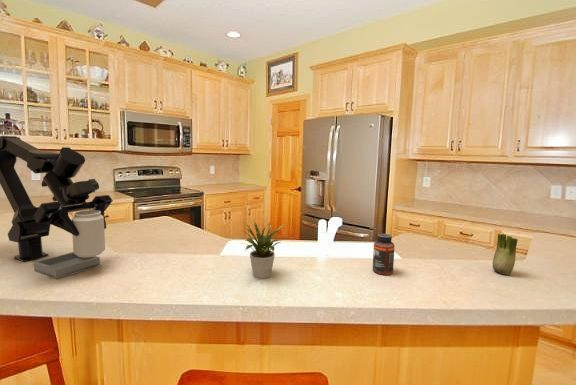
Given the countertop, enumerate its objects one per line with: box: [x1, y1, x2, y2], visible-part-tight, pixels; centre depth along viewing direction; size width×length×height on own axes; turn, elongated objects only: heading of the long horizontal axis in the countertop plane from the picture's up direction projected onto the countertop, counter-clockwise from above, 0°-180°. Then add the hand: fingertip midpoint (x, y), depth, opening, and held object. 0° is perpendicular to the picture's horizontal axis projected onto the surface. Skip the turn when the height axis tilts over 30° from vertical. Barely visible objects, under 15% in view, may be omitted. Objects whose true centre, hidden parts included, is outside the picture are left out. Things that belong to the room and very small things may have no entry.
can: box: [71, 209, 106, 257], centre depth 85 cm, size 8×8×12 cm
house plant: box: [238, 219, 285, 279], centre depth 86 cm, size 14×14×16 cm
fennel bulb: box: [492, 233, 518, 276], centre depth 92 cm, size 6×5×12 cm
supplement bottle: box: [372, 233, 395, 276], centre depth 91 cm, size 6×6×11 cm
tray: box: [33, 251, 101, 280], centre depth 89 cm, size 12×12×2 cm
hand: (92, 231), depth 84 cm, fingers closed on can, 7 cm apart
